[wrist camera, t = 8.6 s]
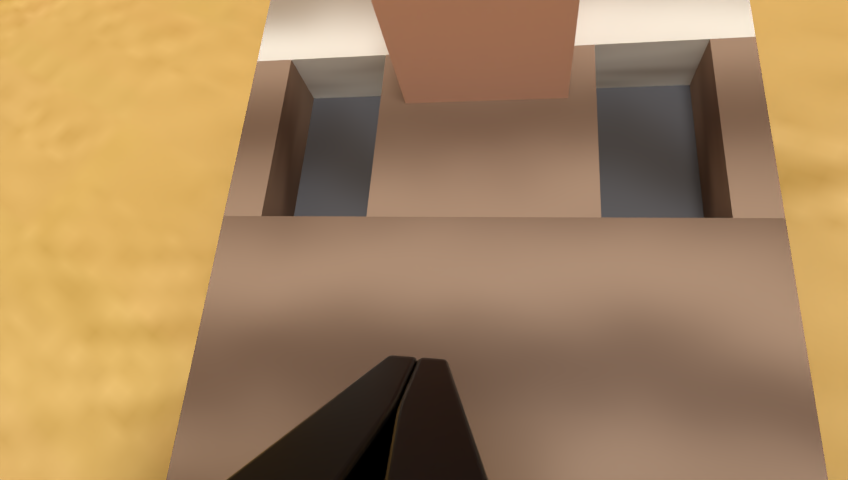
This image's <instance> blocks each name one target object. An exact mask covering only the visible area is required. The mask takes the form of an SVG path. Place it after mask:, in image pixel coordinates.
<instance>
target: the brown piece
mask: <svg viewBox="0 0 848 480" xmlns="http://www.w3.org/2000/svg"><path fill="white" fill-rule="evenodd" d="M390 355H398V356H410V357H415V358H417V360H419V359H420V358H437V359H445V360H447V362H448V363H449V366H450V369H451V372H452V375H453V378H454V381H455V384H456V387H457V390H458V393H459V396H460V399H461V401H462V404H463V407H464V410H465V413H466V416H467V419H468V422H469V425H470V428H471V431H472V434H473V437H474V440H475V443H476V445H477V448H478V451H479V454H480V457H481V460H482V463H483V466H484V469H485V472H486V475H487V478H488V480H828V477H827V471H826V465H825V459H824V453H823V447H822V441H821V434H820V428H819V422H818V416H817V410H816V404H815V398H814V392H813V386H812V379H811V373H810V367H809V361H808V355H807V349H806V343H805V337H804V330H803V324H802V318H801V312H800V306H799V300H798V294H797V288H796V282H795V275H794V269H793V263H792V257H791V251H790V245H789V239H788V233H787V226H786V220H785V214H784V208H783V202H782V196H781V190H780V184H779V178H778V171H777V165H776V159H775V153H774V147H773V141H772V135H771V129H770V122H769V116H768V110H767V104H766V98H765V92H764V86H763V80H762V73H761V67H760V61H759V55H758V49H757V43H756V37H755V31H754V25H753V18H752V12H751V6H750V0H580V2H579V10H578V19H577V27H576V35H575V44H574V52H573V60H572V68H571V77H570V85H569V93H568V98H556V99H526V100H495V101H465V102H434V103H405V100H404V97H403V94H402V91H401V88H400V85H399V82H398V79H397V76H396V74H395V71H394V68H393V65H392V62H391V59H390V56H389V53H388V50H387V47H386V44H385V41H384V38H383V35H382V32H381V29H380V26H379V23H378V20H377V17H376V14H375V11H374V8H373V5H372V2H371V0H271V1H270V6H269V10H268V15H267V19H266V24H265V29H264V33H263V38H262V42H261V47H260V52H259V56H258V61H257V65H256V70H255V75H254V79H253V84H252V88H251V93H250V98H249V102H248V107H247V111H246V116H245V121H244V125H243V130H242V134H241V139H240V144H239V148H238V153H237V157H236V162H235V167H234V171H233V176H232V180H231V185H230V189H229V194H228V199H227V203H226V208H225V212H224V217H223V222H222V226H221V231H220V235H219V240H218V245H217V249H216V254H215V258H214V263H213V268H212V272H211V277H210V281H209V286H208V291H207V295H206V300H205V304H204V309H203V314H202V318H201V323H200V327H199V332H198V337H197V341H196V346H195V350H194V355H193V360H192V364H191V369H190V373H189V378H188V383H187V387H186V392H185V396H184V401H183V405H182V410H181V415H180V419H179V424H178V428H177V433H176V438H175V442H174V447H173V451H172V456H171V461H170V465H169V470H168V474H167V479H166V480H226V479H227V478H229V477H230V476H231V475H233V474H234V473H235V472H237V471H238V470H239V469H241V468H242V467H243V466H245V465H246V464H247V463H248V462H250V461H251V460H252V459H254V458H255V457H256V456H258V455H259V454H260V453H262V452H263V451H264V450H266V449H267V448H268V447H269V446H271V445H272V444H273V443H275V442H276V441H277V440H279V439H280V438H281V437H283V436H284V435H285V434H287V433H288V432H289V431H291V430H292V429H293V428H294V427H296V426H297V425H298V424H300V423H301V422H302V421H304V420H305V419H306V418H308V417H309V416H310V415H312V414H313V413H314V412H315V411H317V410H318V409H319V408H321V407H322V406H323V405H325V404H326V403H327V402H329V401H330V400H331V399H333V398H334V397H335V396H336V395H338V394H339V393H340V392H342V391H343V390H344V389H346V388H347V387H348V386H350V385H351V384H352V383H354V382H355V381H356V380H358V379H359V378H360V377H361V376H363V375H364V374H365V373H367V372H368V371H369V370H371V369H372V368H373V367H375V366H376V365H377V364H379V363H380V362H381V361H382V360H384V359H385V358H386V357H388V356H390Z"/></svg>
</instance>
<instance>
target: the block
mask: <svg viewBox="0 0 848 480" xmlns="http://www.w3.org/2000/svg"><path fill="white" fill-rule="evenodd" d="M371 2H372V5H373V8H374V11H375V14H376V17H377V20H378V23H379V26H380V29H381V32H382V35H383V38H384V41H385V44H386V47H387V50H388V53H389V56H390V59H391V62H392V65H393V68H394V71H395V74H396V76H397V79H398V82H399V85H400V88H401V91H402V94H403V97H404V100H405V103H434V102H465V101H495V100H526V99H556V98H568V93H569V85H570V77H571V68H572V60H573V52H574V44H575V35H576V27H577V19H578V10H579V2H580V0H371Z"/></svg>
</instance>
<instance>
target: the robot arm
mask: <svg viewBox="0 0 848 480" xmlns="http://www.w3.org/2000/svg"><path fill="white" fill-rule="evenodd" d="M226 480H488V478H487V475H486V472H485V469H484V466H483V463H482V460H481V457H480V454H479V451H478V448H477V445H476V443H475V440H474V437H473V434H472V431H471V428H470V425H469V422H468V419H467V416H466V413H465V410H464V407H463V404H462V401H461V399H460V396H459V393H458V390H457V387H456V384H455V381H454V378H453V375H452V372H451V369H450V366H449V363H448V362H447V360H445V359H437V358H420V359H419V360H417V358H415V357H410V356H398V355H390V356H388V357H386V358H385V359H384V360H382V361H381V362H380V363H379V364H377V365H376V366H375V367H373V368H372V369H371V370H369V371H368V372H367V373H365V374H364V375H363V376H361V377H360V378H359V379H358V380H356V381H355V382H354V383H352V384H351V385H350V386H348V387H347V388H346V389H344V390H343V391H342V392H340V393H339V394H338V395H336V396H335V397H334V398H333V399H331V400H330V401H329V402H327V403H326V404H325V405H323V406H322V407H321V408H319V409H318V410H317V411H315V412H314V413H313V414H312V415H310V416H309V417H308V418H306V419H305V420H304V421H302V422H301V423H300V424H298V425H297V426H296V427H294V428H293V429H292V430H291V431H289V432H288V433H287V434H285V435H284V436H283V437H281V438H280V439H279V440H277V441H276V442H275V443H273V444H272V445H271V446H269V447H268V448H267V449H266V450H264V451H263V452H262V453H260V454H259V455H258V456H256V457H255V458H254V459H252V460H251V461H250V462H248V463H247V464H246V465H245V466H243V467H242V468H241V469H239V470H238V471H237V472H235V473H234V474H233V475H231V476H230V477H229V478H227V479H226Z"/></svg>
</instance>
